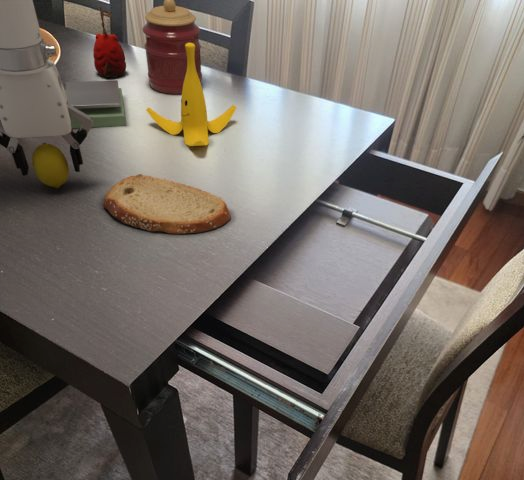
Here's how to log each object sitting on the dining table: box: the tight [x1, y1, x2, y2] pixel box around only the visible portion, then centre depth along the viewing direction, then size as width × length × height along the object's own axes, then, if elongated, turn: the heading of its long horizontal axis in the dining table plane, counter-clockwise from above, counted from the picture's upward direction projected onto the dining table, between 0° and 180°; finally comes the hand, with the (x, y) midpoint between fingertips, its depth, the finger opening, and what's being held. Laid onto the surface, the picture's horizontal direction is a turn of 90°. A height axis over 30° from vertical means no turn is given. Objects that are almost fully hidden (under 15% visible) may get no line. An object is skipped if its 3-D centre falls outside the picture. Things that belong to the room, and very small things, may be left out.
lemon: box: [31, 142, 70, 189], centre depth 83 cm, size 6×6×8 cm
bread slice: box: [102, 173, 232, 235], centre depth 81 cm, size 18×18×4 cm
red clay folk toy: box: [92, 6, 127, 79], centre depth 116 cm, size 8×7×15 cm
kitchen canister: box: [142, 0, 203, 95], centre depth 113 cm, size 13×13×18 cm
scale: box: [64, 87, 127, 129], centre depth 105 cm, size 17×15×4 cm
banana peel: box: [145, 43, 237, 147], centre depth 97 cm, size 17×19×17 cm
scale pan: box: [65, 79, 121, 109], centre depth 104 cm, size 11×13×1 cm
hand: (51, 169), depth 83 cm, fingers open, 7 cm apart
